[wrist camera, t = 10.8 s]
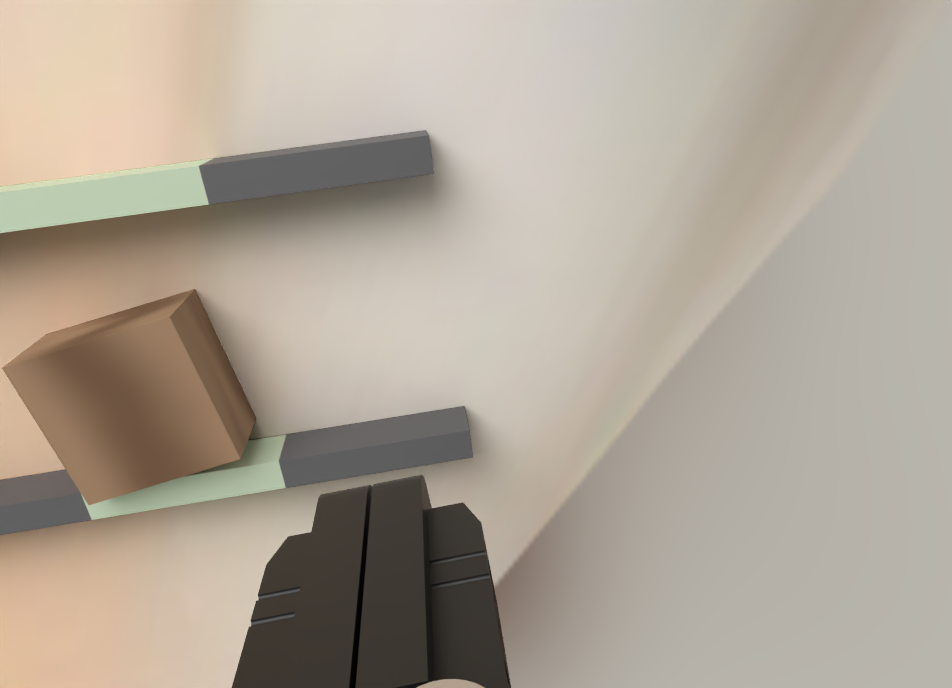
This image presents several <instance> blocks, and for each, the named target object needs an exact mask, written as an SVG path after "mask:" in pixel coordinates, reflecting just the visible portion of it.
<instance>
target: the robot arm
mask: <svg viewBox="0 0 952 688" xmlns="http://www.w3.org/2000/svg"><path fill="white" fill-rule="evenodd" d="M258 597H259V600H258V601H256V604H255V607H254V611H253V614H252V618H251V627H249V629H248V632H247V636H246V639H245V643H244V646H243V650H242V653H241V657H240V660H239V664H238V668H237V671H236V675H235V678H234V682H233V685H232V688H511V685H510V678H509V673H508V666H507V661H506V655H505V648H504V643H503V636H502V631H501V624H500V618H499V612H498V606H497V600H496V595H495V590H494V585H493V580H492V575H491V570H490V565H489V560H488V555H487V550H486V545H485V540H484V535H483V530H482V525H481V522H480V521H479V520H478V519H477V518H476V516H475V515H474V514H473V513H472V512H471V511H470V510H469V509H468V508H467V506H466V505H465V504H464V503H458V504H453V505H448V506H443V507H437V508H431V503H430V499H429V495H428V491H427V486H426V483H425V479H424V477H423V475H419V476H414V477H409V478H403V479H398V480H393V481H388V482H383V483H378V484H374V485H373V487H372V486H371V485H368V486H363V487H358V488H353V489H347V490H342V491H337V492H332V493H327V494H322V495H320V497H319V499H318V503H317V508H316V513H315V517H314V522H313V527H312V532H310V533H305V534H300V535H294V536H289V537H287V539H286V540H285V541H284V543H283V544H282V545H281V547H280V548H279V549H278V550H277V552H276V553H275V554H274V556H273V557H272V558H271V560H270V561H269V562H268V563H267V565H266V568H265V572H264V575H263V579H262V582H261V586H260V589H259V593H258Z"/></svg>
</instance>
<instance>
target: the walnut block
mask: <svg viewBox="0 0 952 688" xmlns="http://www.w3.org/2000/svg"><path fill="white" fill-rule="evenodd" d="M2 369H3V370H4V372H5V373H6V375H7V377H8V378H9V380H10V381H11V383H12V385H13V386H14V388H15V389H16V391H17V392H18V394H19V396H20V397H21V399H22V400H23V402H24V404H25V405H26V407H27V408H28V410H29V412H30V413H31V415H32V416H33V418H34V419H35V421H36V423H37V424H38V426H39V427H40V429H41V431H42V432H43V434H44V435H45V437H46V439H47V440H48V442H49V443H50V445H51V447H52V448H53V450H54V451H55V453H56V454H57V456H58V458H59V459H60V461H61V462H62V464H63V466H64V467H65V469H66V470H67V472H68V474H69V475H70V477H71V478H72V480H73V481H74V483H75V485H76V486H77V488H78V489H79V491H80V493H81V494H82V496H83V497H84V499H85V501H86V502H87V504H88V505H92V504H95V503H99V502H102V501H105V500H108V499H112V498H115V497H118V496H121V495H125V494H128V493H131V492H134V491H138V490H141V489H144V488H148V487H151V486H154V485H157V484H161V483H164V482H167V481H170V480H174V479H177V478H180V477H183V476H187V475H190V474H193V473H196V472H200V471H203V470H206V469H210V468H213V467H216V466H219V465H223V464H226V463H229V462H232V461H236V460H239V459H241V457H242V454H243V451H244V449H245V446H246V444H247V441H248V439H249V436H250V434H251V431H252V428H253V426H254V423H255V421H256V417H255V415H254V413H253V411H252V408H251V406H250V404H249V402H248V400H247V398H246V396H245V394H244V392H243V389H242V387H241V385H240V383H239V381H238V379H237V377H236V375H235V373H234V370H233V368H232V366H231V364H230V362H229V360H228V358H227V356H226V354H225V351H224V349H223V347H222V345H221V343H220V341H219V339H218V337H217V335H216V332H215V330H214V328H213V326H212V324H211V322H210V320H209V318H208V316H207V313H206V311H205V309H204V307H203V305H202V303H201V301H200V299H199V297H198V294H197V292H196V290H195V289H193V290H190V291H187V292H183V293H180V294H177V295H174V296H170V297H167V298H164V299H160V300H157V301H154V302H151V303H147V304H144V305H141V306H138V307H134V308H131V309H128V310H124V311H121V312H118V313H115V314H111V315H108V316H105V317H102V318H98V319H95V320H92V321H88V322H85V323H82V324H79V325H75V326H72V327H69V328H65V329H62V330H59V331H56V332H52V333H49V334H46V335H45V336H44V337H42V338H41V339H40V340H38V341H37V342H36V343H34V344H33V345H32V346H30V347H29V348H28V349H27V350H25V351H24V352H23V353H21V354H20V355H19V356H17V357H16V358H15V359H13V360H12V361H11V362H9V363H8V364H7V365H5V366H4V367H3V368H2Z"/></svg>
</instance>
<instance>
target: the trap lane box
mask: <svg viewBox="0 0 952 688" xmlns="http://www.w3.org/2000/svg"><path fill="white" fill-rule="evenodd" d="M428 174H434V171H433V164H432V156H431V149H430V142H429V135H428V134H427V132H426V130H425V131H417V132H409V133H402V134H394V135H387V136H379V137H372V138H364V139H357V140H349V141H342V142H334V143H327V144H319V145H311V146H304V147H296V148H289V149H281V150H274V151H266V152H259V153H251V154H244V155H236V156H229V157H221V158H213V159H206V160H198V161H191V162H183V163H176V164H168V165H161V166H153V167H146V168H138V169H130V170H123V171H115V172H108V173H100V174H93V175H85V176H78V177H70V178H63V179H55V180H48V181H40V182H32V183H25V184H17V185H10V186H2V187H0V233H4V232H12V231H19V230H26V229H33V228H41V227H48V226H55V225H63V224H70V223H77V222H85V221H92V220H99V219H107V218H114V217H121V216H128V215H136V214H143V213H150V212H158V211H165V210H172V209H180V208H187V207H194V206H202V205H209V204H216V203H223V202H231V201H238V200H245V199H253V198H260V197H267V196H275V195H282V194H289V193H297V192H304V191H311V190H318V189H326V188H333V187H340V186H348V185H355V184H362V183H370V182H377V181H384V180H392V179H399V178H406V177H413V176H421V175H428ZM472 457H473V453H472V445H471V438H470V431H469V426H468V422H467V417H466V412H465V408H464V406H462V407H456V408H449V409H443V410H437V411H431V412H424V413H418V414H412V415H405V416H399V417H393V418H387V419H380V420H374V421H368V422H362V423H355V424H349V425H343V426H336V427H330V428H324V429H318V430H311V431H305V432H299V433H293V434H286V435H280V436H274V437H267V438H261V439H255V440H249V441H247V444H246V446H245V449H244V451H243V454H242V457H241V459H239V460H236V461H232V462H229V463H226V464H223V465H219V466H216V467H213V468H210V469H206V470H203V471H200V472H196V473H193V474H190V475H187V476H183V477H180V478H177V479H174V480H170V481H167V482H164V483H161V484H157V485H154V486H151V487H148V488H144V489H141V490H138V491H134V492H131V493H128V494H125V495H121V496H118V497H115V498H112V499H108V500H105V501H102V502H99V503H95V504H92V505H88V504H87V502H86V501H85V499H84V497H83V496H82V494H81V493H80V491H79V489H78V488H77V486H76V485H75V483H74V481H73V480H72V478H71V477H70V475H69V474H68V472H67V470H60V471H54V472H48V473H42V474H35V475H29V476H23V477H16V478H10V479H4V480H0V535H3V534H9V533H15V532H21V531H27V530H33V529H40V528H46V527H52V526H58V525H64V524H70V523H76V522H82V521H88V520H94V519H100V518H106V517H113V516H119V515H125V514H131V513H137V512H143V511H149V510H155V509H161V508H167V507H173V506H179V505H186V504H192V503H198V502H204V501H210V500H216V499H222V498H228V497H234V496H240V495H246V494H252V493H259V492H265V491H271V490H277V489H283V488H289V487H295V486H301V485H307V484H313V483H319V482H326V481H332V480H338V479H344V478H350V477H356V476H362V475H368V474H374V473H380V472H386V471H392V470H399V469H405V468H411V467H417V466H423V465H429V464H435V463H441V462H447V461H453V460H459V459H465V458H472Z"/></svg>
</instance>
